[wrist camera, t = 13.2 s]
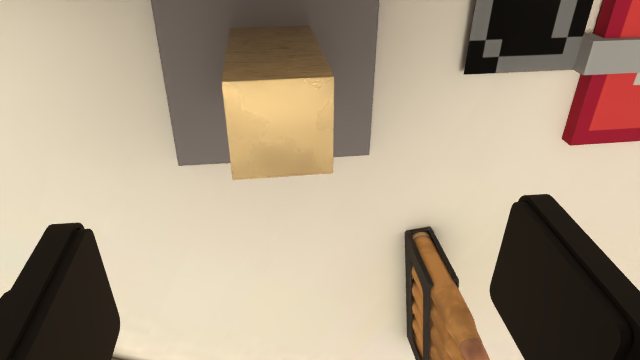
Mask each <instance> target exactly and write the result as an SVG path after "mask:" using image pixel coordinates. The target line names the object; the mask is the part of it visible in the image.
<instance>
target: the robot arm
mask: <svg viewBox="0 0 640 360" xmlns="http://www.w3.org/2000/svg"><path fill="white" fill-rule="evenodd" d="M490 296H491V299H492V302H493V304H494V305H495V307H496V309H497V311H498V313H499V314H500V316H501V318H502V320H503V322H504V323H505V325H506V327H507V329H508V331H509V332H510V334H511V336H512V338H513V340H514V341H515V343H516V345H517V347H518V349H519V350H520V352H521V354H522V356H523V357H524V359H525V360H640V291H639V290H638V289H637V288H636V287H635V286H634V285H633V284H632V283H631V281H630V280H629V279H628V278H627V277H626V276H625V275H624V274H623V273H622V272H621V271H620V270H619V268H618V267H617V266H616V265H615V264H614V263H613V262H612V261H611V260H610V259H609V258H608V257H607V255H606V254H605V253H604V252H603V251H602V250H601V249H600V248H599V247H598V246H597V245H596V244H595V243H594V241H593V240H592V239H591V238H590V237H589V236H588V235H587V234H586V233H585V232H584V231H583V230H582V228H581V227H580V226H579V225H578V224H577V223H576V222H575V221H574V220H573V219H572V218H571V217H570V215H569V214H568V213H567V212H566V211H565V210H564V209H563V208H562V207H561V206H560V205H559V204H558V203H557V201H556V200H555V199H554V198H553V197H552V196H550V195H548V194H540V195H524V196H522V197H521V198H520V199H519V201H518V202H515V203H514V204H513V205H512V207H511V211H510V214H509V218H508V222H507V225H506V229H505V233H504V236H503V240H502V244H501V247H500V251H499V255H498V259H497V262H496V266H495V270H494V273H493V277H492V281H491V284H490ZM119 330H120V317H119V313H118V310H117V307H116V304H115V301H114V297H113V294H112V291H111V288H110V284H109V281H108V278H107V275H106V272H105V268H104V265H103V262H102V259H101V256H100V252H99V249H98V246H97V243H96V240H95V236H94V234H93V231H92V230H91V229H84V227H83V225H82V224H81V223H65V224H51V225H49V226H48V227H47V229H46V230H45V232H44V234H43V235H42V237H41V239H40V241H39V242H38V244H37V246H36V247H35V249H34V251H33V253H32V254H31V256H30V258H29V259H28V261H27V263H26V264H25V266H24V268H23V270H22V271H21V273H20V275H19V276H18V278H17V280H16V281H15V283H14V285H13V287H12V288H11V290H9V291H8V292H6V293H4V294H3V296H2V297H1V298H0V360H111V358H112V355H113V352H114V348H115V345H116V342H117V338H118V335H119Z"/></svg>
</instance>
